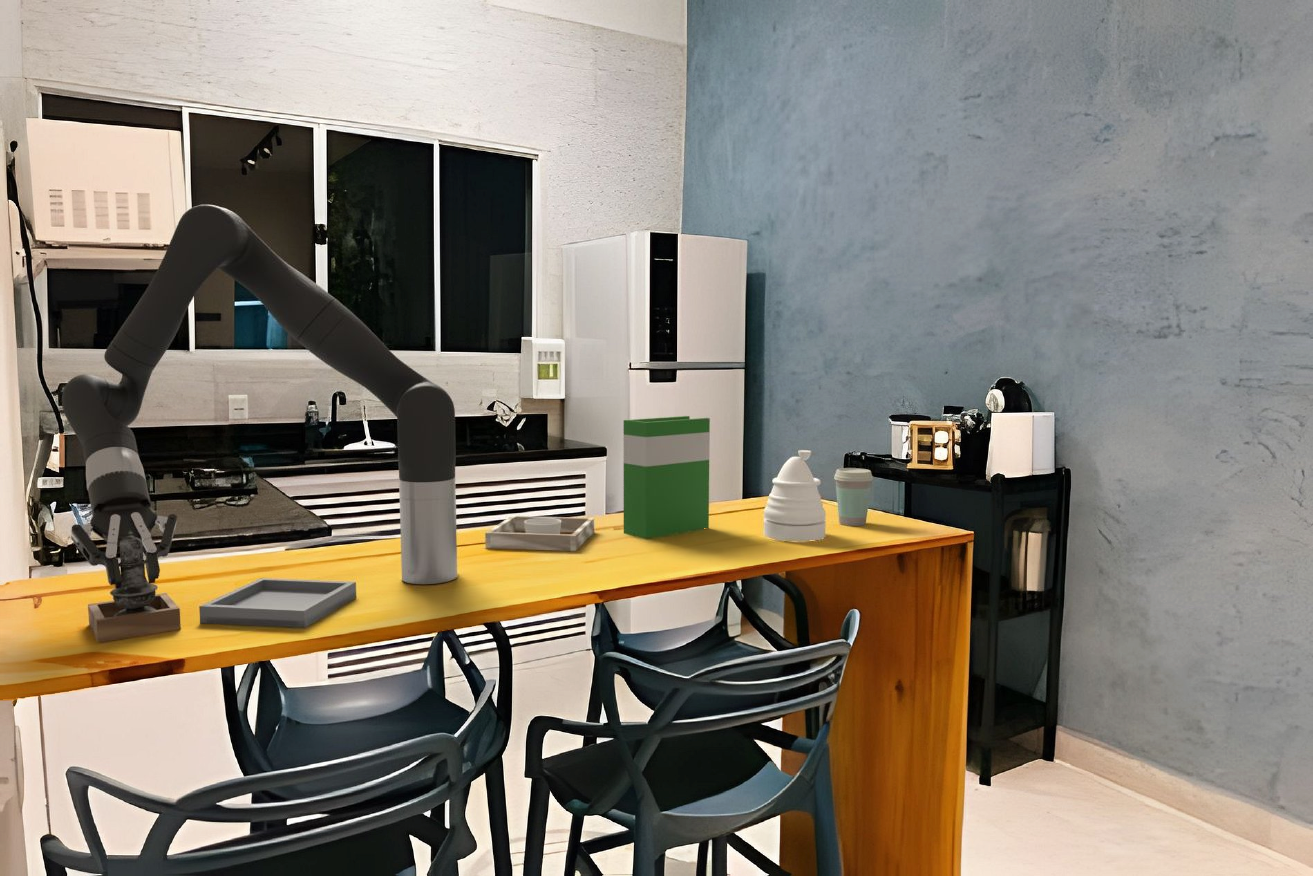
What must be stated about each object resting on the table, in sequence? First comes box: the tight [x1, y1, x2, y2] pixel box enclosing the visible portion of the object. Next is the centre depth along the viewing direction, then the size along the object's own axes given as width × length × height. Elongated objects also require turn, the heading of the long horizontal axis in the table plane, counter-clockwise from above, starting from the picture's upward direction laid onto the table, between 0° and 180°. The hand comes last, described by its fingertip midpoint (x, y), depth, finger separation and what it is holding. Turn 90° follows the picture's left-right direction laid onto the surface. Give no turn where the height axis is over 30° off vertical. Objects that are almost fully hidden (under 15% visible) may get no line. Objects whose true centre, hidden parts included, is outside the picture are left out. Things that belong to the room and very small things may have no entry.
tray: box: [198, 577, 357, 629], centre depth 140 cm, size 16×16×2 cm
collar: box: [87, 592, 182, 644], centre depth 132 cm, size 10×10×3 cm
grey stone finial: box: [109, 531, 158, 617], centre depth 131 cm, size 6×6×12 cm
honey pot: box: [762, 449, 826, 541], centre depth 194 cm, size 13×13×18 cm
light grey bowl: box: [524, 518, 561, 534], centre depth 187 cm, size 10×10×5 cm
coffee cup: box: [833, 467, 874, 527], centre depth 208 cm, size 8×9×12 cm
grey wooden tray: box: [484, 515, 595, 552], centre depth 190 cm, size 18×18×3 cm
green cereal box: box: [623, 415, 711, 540], centre depth 199 cm, size 18×7×24 cm, turn 130°
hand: (135, 582), depth 130 cm, fingers closed on grey stone finial, 3 cm apart
